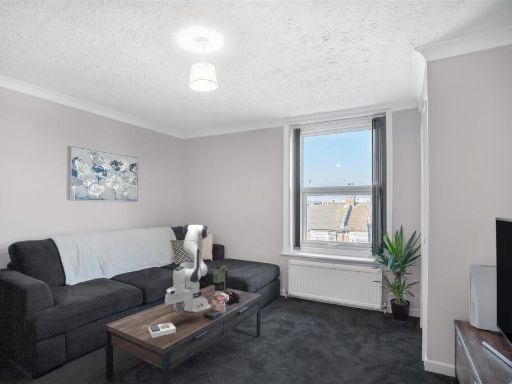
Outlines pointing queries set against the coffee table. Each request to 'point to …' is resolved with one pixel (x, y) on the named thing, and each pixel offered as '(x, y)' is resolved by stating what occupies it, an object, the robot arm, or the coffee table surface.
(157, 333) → the switch plate
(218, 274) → the device
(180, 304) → the rocker switch
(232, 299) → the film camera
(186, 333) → the coffee table surface
